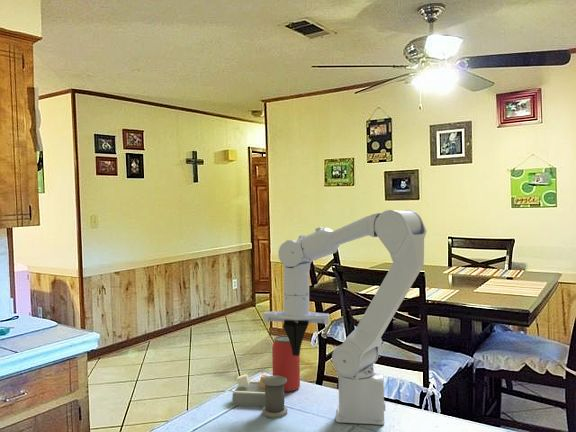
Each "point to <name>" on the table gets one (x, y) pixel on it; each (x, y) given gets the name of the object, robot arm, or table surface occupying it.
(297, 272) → the robot arm
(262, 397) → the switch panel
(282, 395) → the cord spool
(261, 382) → the orange cube
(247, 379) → the cream cube
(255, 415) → the table surface
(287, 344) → the beer can
